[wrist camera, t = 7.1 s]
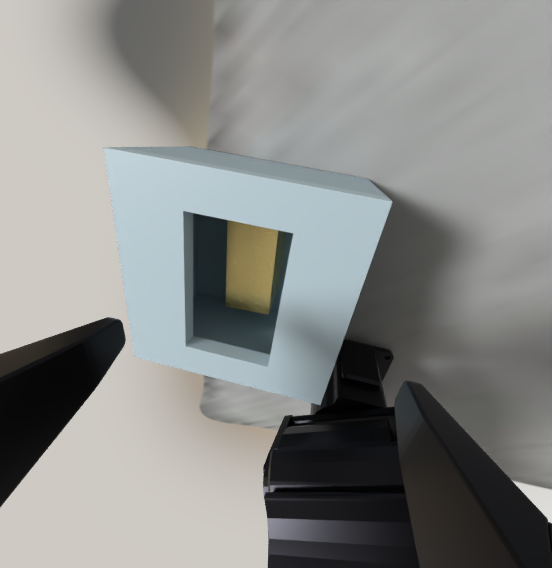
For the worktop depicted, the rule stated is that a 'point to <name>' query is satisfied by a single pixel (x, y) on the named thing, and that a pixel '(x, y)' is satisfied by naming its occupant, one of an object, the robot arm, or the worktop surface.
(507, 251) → the worktop surface
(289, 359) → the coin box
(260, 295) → the tall tan wooden block
